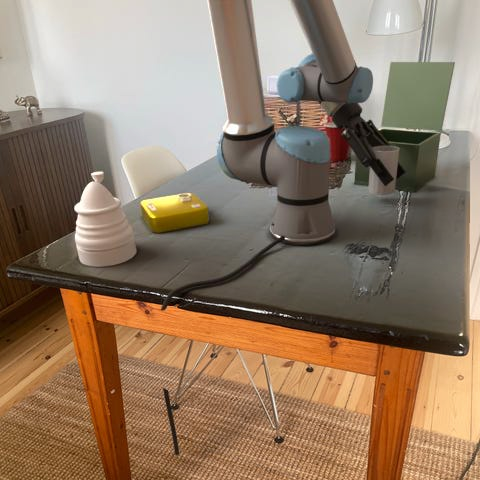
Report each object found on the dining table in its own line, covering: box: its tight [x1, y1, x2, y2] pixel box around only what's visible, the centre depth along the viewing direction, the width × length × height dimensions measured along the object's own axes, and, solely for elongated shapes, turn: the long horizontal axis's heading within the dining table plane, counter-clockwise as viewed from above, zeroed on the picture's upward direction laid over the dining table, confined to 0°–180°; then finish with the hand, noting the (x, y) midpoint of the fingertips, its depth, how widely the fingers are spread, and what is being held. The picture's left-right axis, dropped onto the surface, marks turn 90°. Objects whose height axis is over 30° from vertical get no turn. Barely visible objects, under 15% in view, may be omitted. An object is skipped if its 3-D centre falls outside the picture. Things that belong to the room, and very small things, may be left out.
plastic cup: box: [323, 122, 351, 162], centre depth 173 cm, size 11×11×12 cm
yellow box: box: [140, 192, 210, 234], centre depth 132 cm, size 15×15×5 cm
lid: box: [380, 61, 456, 132], centre depth 147 cm, size 18×18×1 cm
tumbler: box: [367, 146, 400, 196], centre depth 132 cm, size 7×7×11 cm
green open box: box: [353, 127, 442, 193], centre depth 148 cm, size 17×18×13 cm
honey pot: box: [74, 171, 138, 268], centre depth 112 cm, size 13×13×18 cm
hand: (395, 179), depth 131 cm, fingers closed on tumbler, 7 cm apart
